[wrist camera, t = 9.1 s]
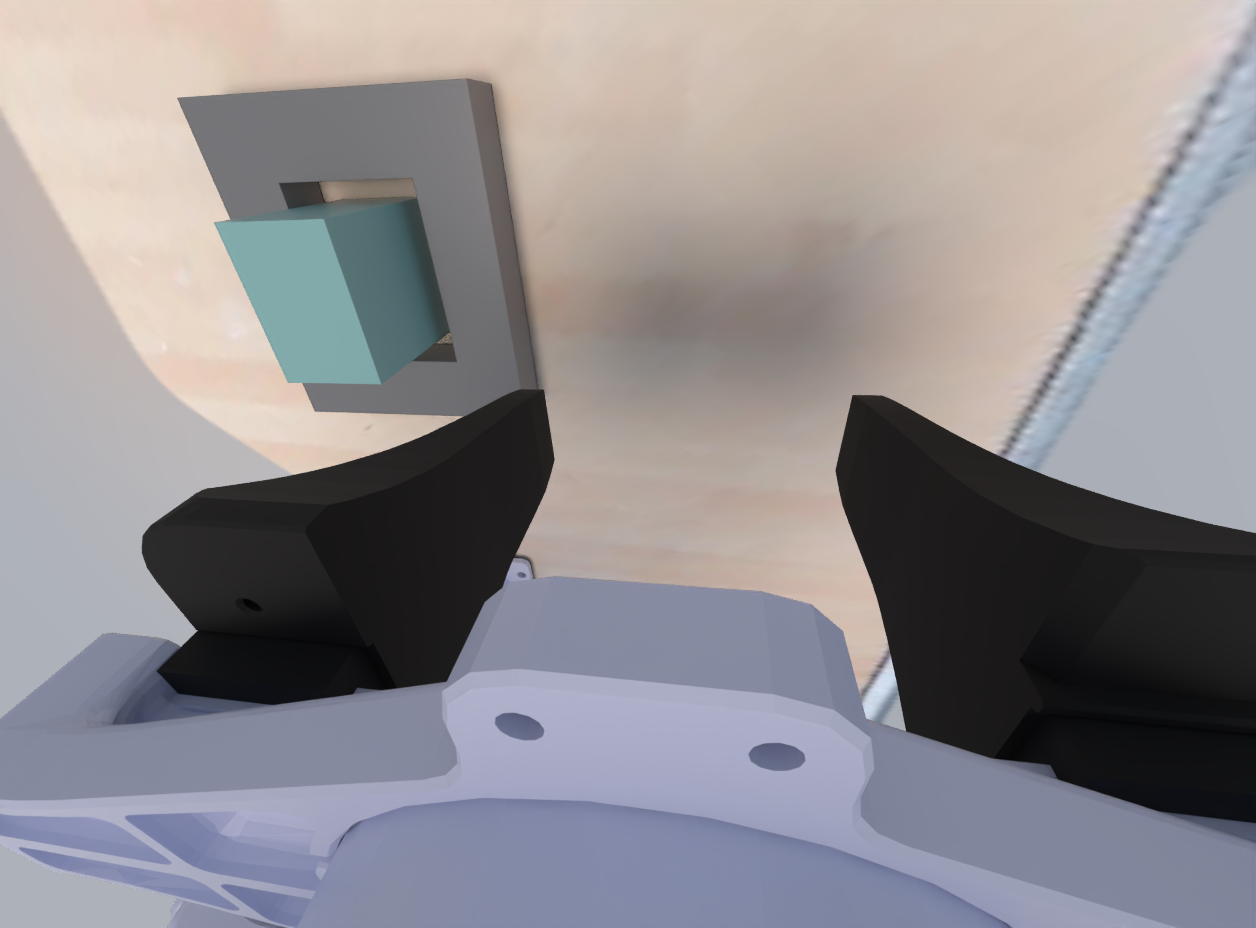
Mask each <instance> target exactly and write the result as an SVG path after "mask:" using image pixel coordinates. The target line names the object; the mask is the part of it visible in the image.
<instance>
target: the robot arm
mask: <svg viewBox="0 0 1256 928" xmlns="http://www.w3.org/2000/svg"><path fill="white" fill-rule="evenodd" d="M554 460H555V459H554V452H553V446H552V439H551V433H550V426H549V420H548V413H547V407H546V400H545V394H544V390H535V389H519V390H516V391H513V392H511V393H509V394H507V395H504V396H502V397H500V398H498V399H496V400H494V401H493V402H491V403H489V404H487V405H485V406H483V407H481V408H479V409H477V410H475V411H474V412H472V413H470V414H468V415H466V416H464V417H462V418H460V419H458V420H456V421H454V422H452V423H450V424H448V425H446V426H443V427H441V428H439V429H437V430H435V431H433V432H431V433H429V434H427V435H424V436H422V437H420V438H417V439H415V440H412V441H410V442H407V443H405V444H402V445H399V446H397V447H394V448H391V449H389V450H386V451H383V452H380V453H377V454H373V455H370V456H366V457H363V458H360V459H356V460H353V461H350V462H346V463H343V464H339V465H335V466H332V467H327V468H323V469H319V470H315V471H310V472H306V473H301V474H296V475H291V476H287V477H281V478H275V479H270V480H263V481H257V482H250V483H243V484H237V485H230V486H223V487H215V488H207V489H205V490H202V491H200V492H198V493H196V494H195V495H193V496H192V497H190V498H189V499H188V500H186V501H185V502H183V503H182V504H180V505H179V506H178V507H176V508H175V509H173V510H172V511H170V512H169V513H168V514H166V515H165V516H163V517H162V518H161V519H159V520H158V521H156V522H155V523H153V524H152V525H151V526H150V527H149V528H148V529H147V531H146V532H145V533H144V535H143V540H142V554H143V557H144V560H145V563H146V566H147V568H148V570H149V571H150V573H151V574H152V576H153V577H154V579H155V580H156V582H157V583H158V584H159V585H160V586H161V588H162V589H163V590H164V591H165V593H166V594H167V595H168V596H169V597H170V599H171V600H172V601H173V602H174V603H175V605H176V606H177V607H178V608H179V609H180V611H181V612H182V613H183V614H184V616H185V617H186V618H187V619H188V620H189V622H190V623H191V624H192V625H193V626H194V627H195V629H196V630H198V631H197V632H196V633H195V634H194V635H193V636H192V637H191V638H190V639H189V640H188V641H187V642H186V643H185V644H184V645H183V646H182V647H180V646H179V645H177V644H175V643H173V642H171V641H169V640H166V639H162V638H158V637H147V636H138V635H128V634H117V633H107V634H102V635H101V636H100V637H99V638H97V639H96V640H95V641H94V642H93V643H91V644H90V645H89V646H88V647H86V648H85V649H84V650H83V651H82V652H80V654H78V655H77V656H76V657H74V658H73V659H72V660H71V661H70V662H68V663H67V664H66V665H65V666H63V667H62V668H61V669H60V670H59V671H57V672H56V673H55V674H54V675H53V676H51V677H50V678H49V679H48V680H47V681H45V682H44V683H43V684H42V685H41V686H39V687H38V688H37V689H36V690H34V691H33V692H32V693H31V694H30V695H28V696H27V697H26V698H25V699H24V700H22V701H21V702H20V703H19V704H18V705H16V706H15V707H14V708H13V709H12V710H10V711H9V712H8V713H7V714H6V715H4V716H3V717H2V718H1V719H0V844H1V845H3V846H5V847H6V848H8V849H10V850H12V851H14V852H16V853H18V854H20V855H21V856H24V857H25V858H27V859H29V860H31V861H33V862H35V863H36V864H38V865H40V866H42V867H44V868H46V869H48V870H51V871H57V872H61V873H66V874H71V875H76V876H81V877H86V878H91V879H96V880H101V881H105V882H110V883H114V884H119V885H123V886H127V887H131V888H136V889H140V890H144V891H149V892H153V893H157V894H161V895H165V896H169V897H172V898H176V901H175V902H174V904H173V906H172V908H171V918H172V920H171V922H170V923H169V925H168V927H167V928H1256V533H1251V532H1246V531H1242V530H1237V529H1232V528H1228V527H1223V526H1218V525H1213V524H1208V523H1204V522H1200V521H1196V520H1192V519H1188V518H1184V517H1180V516H1176V515H1172V514H1169V513H1164V512H1161V511H1157V510H1153V509H1149V508H1145V507H1142V506H1138V505H1135V504H1131V503H1127V502H1124V501H1121V500H1117V499H1114V498H1111V497H1107V496H1105V495H1101V494H1098V493H1095V492H1092V491H1089V490H1085V489H1083V488H1079V487H1077V486H1073V485H1070V484H1067V483H1065V482H1062V481H1059V480H1057V479H1054V478H1051V477H1048V476H1046V475H1043V474H1041V473H1038V472H1036V471H1033V470H1031V469H1028V468H1026V467H1023V466H1021V465H1018V464H1016V463H1013V462H1011V461H1009V460H1007V459H1004V458H1002V457H1000V456H998V455H996V454H993V453H991V452H989V451H987V450H985V449H983V448H981V447H979V446H977V445H975V444H973V443H971V442H969V441H967V440H965V439H963V438H961V437H959V436H957V435H956V434H954V433H952V432H950V431H948V430H946V429H944V428H943V427H941V426H939V425H937V424H935V423H934V422H932V421H930V420H928V419H927V418H925V417H923V416H921V415H919V414H918V413H916V412H914V411H912V410H911V409H909V408H907V407H905V406H903V405H901V404H899V403H898V402H896V401H894V400H891V399H889V398H887V397H884V396H876V395H853V396H852V400H851V405H850V409H849V413H848V418H847V422H846V427H845V431H844V435H843V440H842V444H841V449H840V453H839V457H838V462H837V466H836V476H837V481H838V486H839V491H840V496H841V501H842V505H843V508H844V511H845V514H846V516H847V519H848V522H849V524H850V527H851V530H852V532H853V535H854V537H855V540H856V543H857V545H858V548H859V550H860V553H861V556H862V558H863V561H864V563H865V566H866V569H867V571H868V574H869V576H870V579H871V582H872V584H873V588H874V591H875V594H876V597H877V600H878V604H879V608H880V612H881V616H882V620H883V624H884V628H885V632H886V636H887V640H888V645H889V649H890V654H891V658H892V663H893V667H894V672H895V676H896V681H897V686H898V691H899V696H900V701H901V707H902V711H903V717H904V722H905V728H906V731H903V730H900V729H897V728H893V727H890V726H887V725H884V724H881V723H878V722H875V721H872V720H868V719H866V717H865V713H864V709H863V705H862V702H861V698H860V694H859V690H858V686H857V683H856V679H855V675H854V671H853V668H852V664H851V660H850V656H849V652H848V649H847V645H846V641H845V637H844V634H843V631H842V630H841V629H840V628H839V627H837V626H836V625H835V624H834V623H833V622H832V621H830V620H829V619H828V618H827V617H826V616H824V615H823V614H822V613H821V612H820V611H819V610H817V609H816V608H815V607H814V606H813V605H811V604H808V603H804V602H801V601H797V600H793V599H789V598H785V597H781V596H777V595H773V594H770V593H766V592H762V591H752V590H738V589H724V588H710V587H696V586H683V585H669V584H655V583H641V582H627V581H613V580H600V579H586V578H572V577H558V576H554V577H546V578H538V579H533V575H532V570H531V565H530V563H529V562H528V561H527V560H525V559H520V558H514V557H515V555H516V553H517V550H518V548H519V546H520V544H521V542H522V540H523V538H524V536H525V534H526V532H527V530H528V528H529V525H530V523H531V521H532V519H533V517H534V515H535V513H536V511H537V509H538V506H539V504H540V502H541V500H542V498H543V496H544V493H545V491H546V488H547V485H548V481H549V478H550V475H551V471H552V467H553V464H554ZM522 572H523V573H522Z"/></svg>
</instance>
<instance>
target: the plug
mask: <svg viewBox="0 0 1256 928" xmlns="http://www.w3.org/2000/svg"><path fill="white" fill-rule="evenodd" d="M214 224H215V226H216V228H217V230H218V232H219V234H220V237H221V239H222V241H223V243H224V245H225V247H226V250H227V252H228V254H229V256H230V258H231V260H232V262H233V265H234V267H235V269H236V271H237V273H238V275H239V278H240V280H241V282H242V284H243V286H244V288H245V291H246V293H247V295H248V297H249V299H250V301H251V304H252V306H253V308H254V310H255V312H256V314H257V317H258V319H259V321H260V323H261V325H262V327H263V330H264V332H265V334H266V336H267V338H268V340H269V343H270V345H271V347H272V349H273V351H274V353H275V356H276V358H277V360H278V362H279V364H280V366H281V368H282V371H283V373H284V375H285V377H286V379H287V381H288V383H337V384H382V383H384V382H385V381H386V380H388V379H389V378H390V377H392V376H393V375H394V374H395V373H397V372H398V371H399V370H401V369H402V368H403V367H405V366H406V365H407V364H409V363H410V362H411V361H412V360H414V359H415V358H416V357H418V356H419V355H420V354H422V353H423V352H424V351H426V350H427V349H428V348H429V347H431V346H432V345H433V344H435V343H436V342H437V341H439V340H440V339H441V338H443V337H444V336H445V335H446V334H448V333H449V332H450V330H449V326H448V322H447V318H446V314H445V309H444V305H443V301H442V297H441V293H440V289H439V285H438V281H437V277H436V273H435V269H434V264H433V260H432V256H431V252H430V248H429V244H428V240H427V236H426V232H425V228H424V224H423V219H422V215H421V211H420V207H419V203H418V199H417V197H393V198H367V199H342V200H336V201H331V202H325V203H320V204H314V205H309V206H303V207H298V208H292V209H287V210H281V211H276V212H270V213H265V214H259V215H254V216H248V217H243V218H237V219H232V220H226V221H221V222H215V223H214Z"/></svg>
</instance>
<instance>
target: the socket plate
mask: <svg viewBox="0 0 1256 928" xmlns="http://www.w3.org/2000/svg"><path fill="white" fill-rule="evenodd" d="M177 99H178V101H179V103H180V105H181V108H182V110H183V112H184V115H185V117H186V119H187V121H188V124H189V126H190V128H191V131H192V133H193V135H194V137H195V140H196V142H197V144H198V146H199V149H200V151H201V153H202V156H203V158H204V160H205V162H206V165H207V167H208V169H209V172H210V174H211V176H212V178H213V181H214V183H215V185H216V187H217V190H218V192H219V194H220V197H221V199H222V201H223V203H224V206H225V208H226V210H227V212H228V215H229V217H230V219H231V220H232V219H237V218H243V217H248V216H254V215H259V214H265V213H270V212H276V211H281V210H287V209H292V208H298V207H303V206H309V205H314V204H320V203H324V200H323V197H322V194H321V191H320V188H319V185H318V182H319V181H345V180H371V179H397V178H412V179H413V183H414V187H415V191H416V195H417V199H418V203H419V207H420V211H421V215H422V219H423V224H424V228H425V232H426V236H427V240H428V244H429V248H430V252H431V256H432V260H433V264H434V269H435V273H436V277H437V281H438V285H439V289H440V293H441V297H442V301H443V305H444V309H445V314H446V318H447V322H448V326H449V330H450V334H451V338H452V342H453V344H433V345H432V346H431V347H429V348H428V349H427V350H426V351H424V352H423V353H422V354H420V355H419V356H418V357H416V358H415V359H414V360H412V361H411V362H410V363H409V364H407V365H406V366H405V367H403V368H402V369H401V370H399V371H398V372H397V373H395V374H394V375H393V376H392V377H390V378H389V379H388V380H386V381H385V382H384V383H382V384H337V383H303V385H304V388H305V390H306V392H307V395H308V397H309V399H310V401H311V404H312V406H313V408H314V410H315V411H317V412H349V413H380V414H412V415H443V416H466V415H468V414H470V413H472V412H474V411H475V410H477V409H479V408H481V407H483V406H485V405H487V404H489V403H491V402H493V401H494V400H496V399H498V398H500V397H502V396H504V395H507V394H509V393H511V392H513V391H516V390H519V389H535V390H538V387H537V380H536V374H535V367H534V361H533V354H532V348H531V341H530V335H529V328H528V322H527V315H526V309H525V302H524V296H523V289H522V283H521V276H520V270H519V263H518V257H517V250H516V244H515V237H514V231H513V224H512V218H511V211H510V205H509V198H508V192H507V185H506V179H505V172H504V166H503V159H502V153H501V146H500V140H499V133H498V127H497V120H496V114H495V107H494V101H493V94H492V88H491V84H489V83H484V82H480V81H475V80H471V79H453V80H438V81H423V82H408V83H392V84H377V85H362V86H347V87H332V88H317V89H302V90H287V91H272V92H257V93H242V94H227V95H212V96H196V97H181V98H177Z"/></svg>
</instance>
